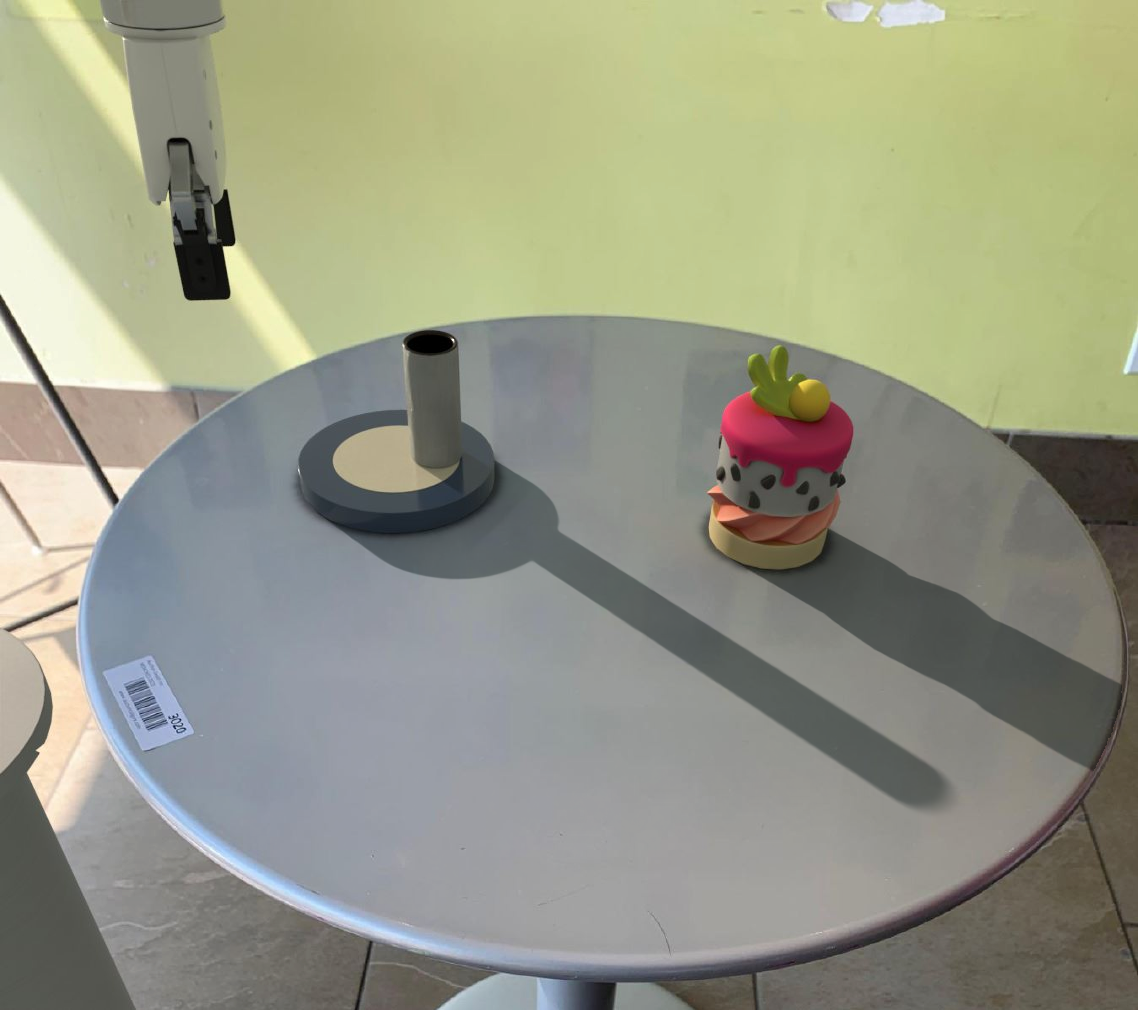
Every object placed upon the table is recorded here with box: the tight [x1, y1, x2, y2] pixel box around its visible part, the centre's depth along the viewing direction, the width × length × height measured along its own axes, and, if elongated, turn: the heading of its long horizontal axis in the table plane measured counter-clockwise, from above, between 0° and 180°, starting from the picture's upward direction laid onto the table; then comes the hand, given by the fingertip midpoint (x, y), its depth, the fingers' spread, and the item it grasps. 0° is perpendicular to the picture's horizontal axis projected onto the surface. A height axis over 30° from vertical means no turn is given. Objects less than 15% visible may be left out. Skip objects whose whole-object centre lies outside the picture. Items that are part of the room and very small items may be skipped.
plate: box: [297, 409, 496, 534], centre depth 98 cm, size 17×17×2 cm
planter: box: [401, 329, 462, 468], centre depth 94 cm, size 4×4×10 cm
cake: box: [706, 344, 854, 570], centre depth 89 cm, size 10×11×15 cm
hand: (211, 270), depth 83 cm, fingers open, 9 cm apart
